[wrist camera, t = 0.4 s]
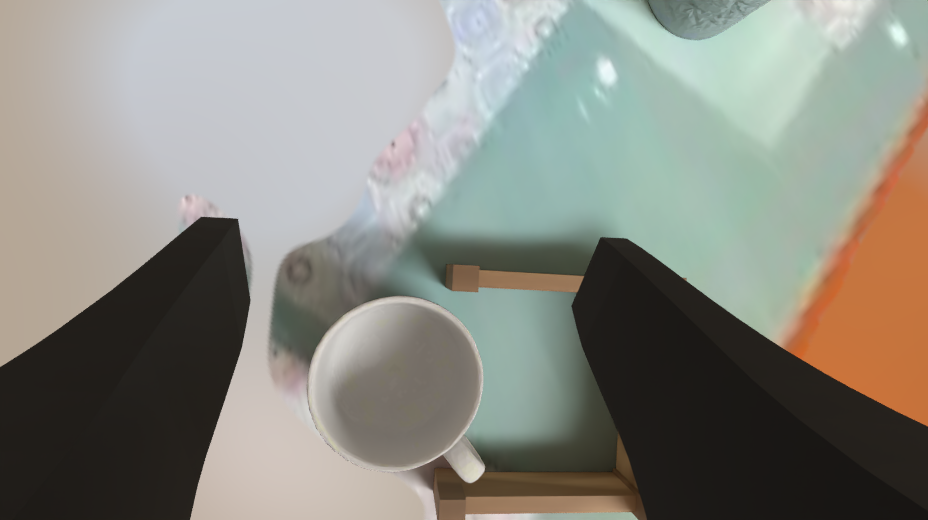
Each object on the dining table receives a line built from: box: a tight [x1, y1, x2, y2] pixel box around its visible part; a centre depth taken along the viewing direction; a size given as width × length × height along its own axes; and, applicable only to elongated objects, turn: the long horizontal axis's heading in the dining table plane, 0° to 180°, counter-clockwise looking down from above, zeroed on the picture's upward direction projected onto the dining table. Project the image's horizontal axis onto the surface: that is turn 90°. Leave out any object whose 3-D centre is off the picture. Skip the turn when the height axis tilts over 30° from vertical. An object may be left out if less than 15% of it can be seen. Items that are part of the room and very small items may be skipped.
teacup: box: [307, 296, 485, 483], centre depth 33 cm, size 14×11×8 cm
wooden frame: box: [433, 264, 686, 520], centre depth 35 cm, size 18×16×6 cm
